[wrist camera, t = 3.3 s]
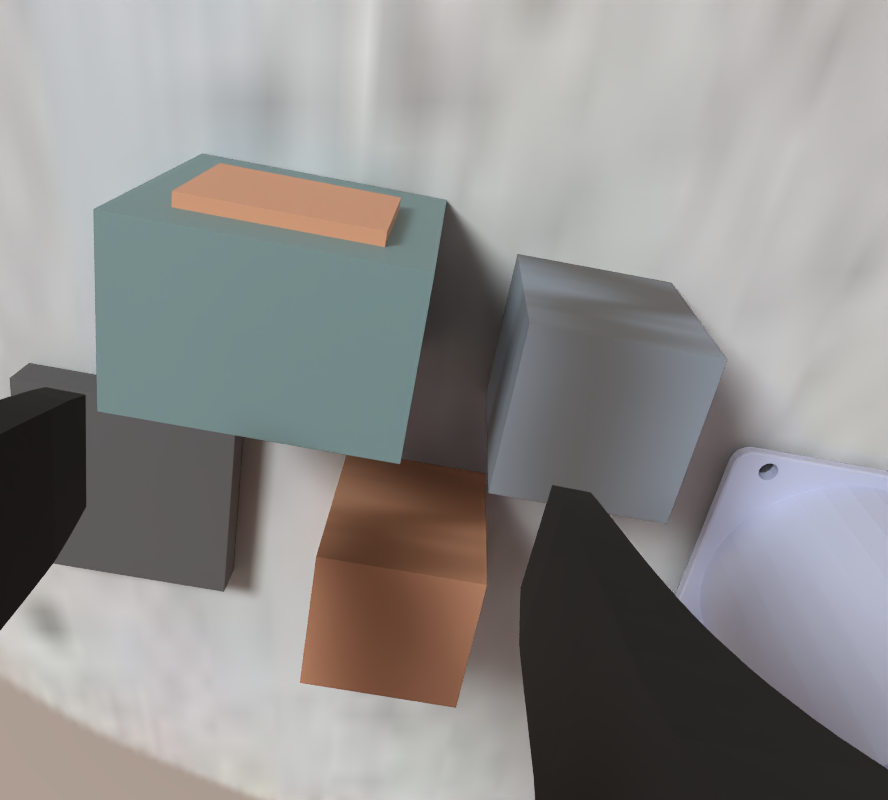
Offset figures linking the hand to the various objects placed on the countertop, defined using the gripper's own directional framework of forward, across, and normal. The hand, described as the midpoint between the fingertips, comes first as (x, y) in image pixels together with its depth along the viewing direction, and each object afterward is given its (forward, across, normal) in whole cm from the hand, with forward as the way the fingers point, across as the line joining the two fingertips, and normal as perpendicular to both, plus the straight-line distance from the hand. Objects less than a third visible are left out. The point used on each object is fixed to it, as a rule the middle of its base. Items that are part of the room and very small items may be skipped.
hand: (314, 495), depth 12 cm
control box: (+9, +2, -1) cm, 10 cm away
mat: (+9, +6, +7) cm, 13 cm away
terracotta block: (+9, -2, +7) cm, 12 cm away
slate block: (+9, -5, 0) cm, 11 cm away
